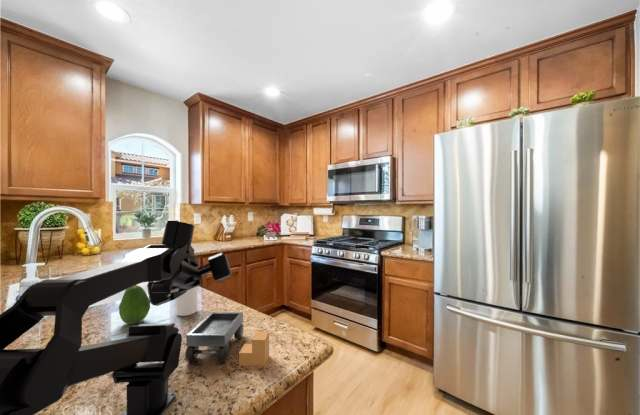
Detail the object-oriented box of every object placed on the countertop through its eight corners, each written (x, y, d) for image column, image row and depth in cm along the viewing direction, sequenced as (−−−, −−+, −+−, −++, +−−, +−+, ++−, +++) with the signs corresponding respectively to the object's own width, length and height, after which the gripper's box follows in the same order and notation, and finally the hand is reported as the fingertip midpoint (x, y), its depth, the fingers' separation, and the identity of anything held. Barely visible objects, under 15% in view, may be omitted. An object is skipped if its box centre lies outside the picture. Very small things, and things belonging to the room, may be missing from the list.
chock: (269, 356, 63) (268, 331, 63) (265, 366, 59) (265, 339, 59) (244, 355, 63) (244, 331, 63) (239, 365, 59) (238, 339, 59)
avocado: (114, 330, 76) (113, 289, 76) (126, 319, 84) (126, 282, 84) (145, 327, 78) (144, 287, 78) (154, 316, 86) (153, 280, 86)
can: (188, 317, 85) (188, 281, 85) (171, 316, 86) (171, 280, 86) (201, 309, 91) (201, 276, 91) (185, 308, 93) (185, 275, 93)
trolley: (223, 365, 59) (223, 336, 59) (184, 365, 59) (184, 336, 59) (243, 334, 73) (243, 311, 73) (212, 334, 74) (212, 311, 74)
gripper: (210, 226, 62) (228, 244, 76) (127, 255, 58) (162, 269, 72) (223, 269, 58) (239, 280, 72) (134, 304, 54) (170, 308, 68)
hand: (203, 283), depth 71 cm, fingers open, 9 cm apart
